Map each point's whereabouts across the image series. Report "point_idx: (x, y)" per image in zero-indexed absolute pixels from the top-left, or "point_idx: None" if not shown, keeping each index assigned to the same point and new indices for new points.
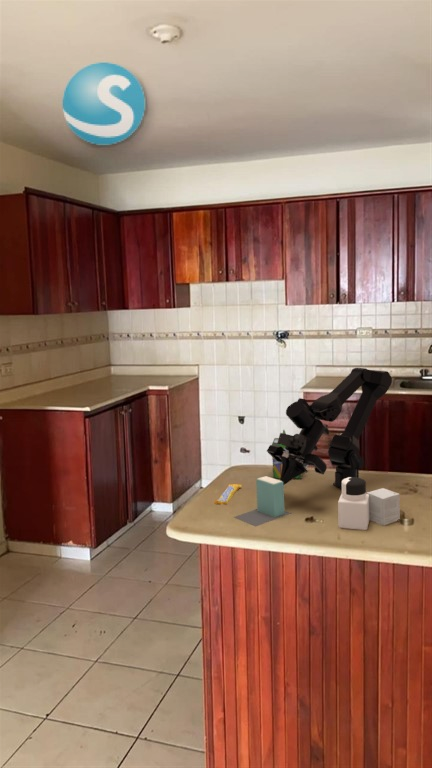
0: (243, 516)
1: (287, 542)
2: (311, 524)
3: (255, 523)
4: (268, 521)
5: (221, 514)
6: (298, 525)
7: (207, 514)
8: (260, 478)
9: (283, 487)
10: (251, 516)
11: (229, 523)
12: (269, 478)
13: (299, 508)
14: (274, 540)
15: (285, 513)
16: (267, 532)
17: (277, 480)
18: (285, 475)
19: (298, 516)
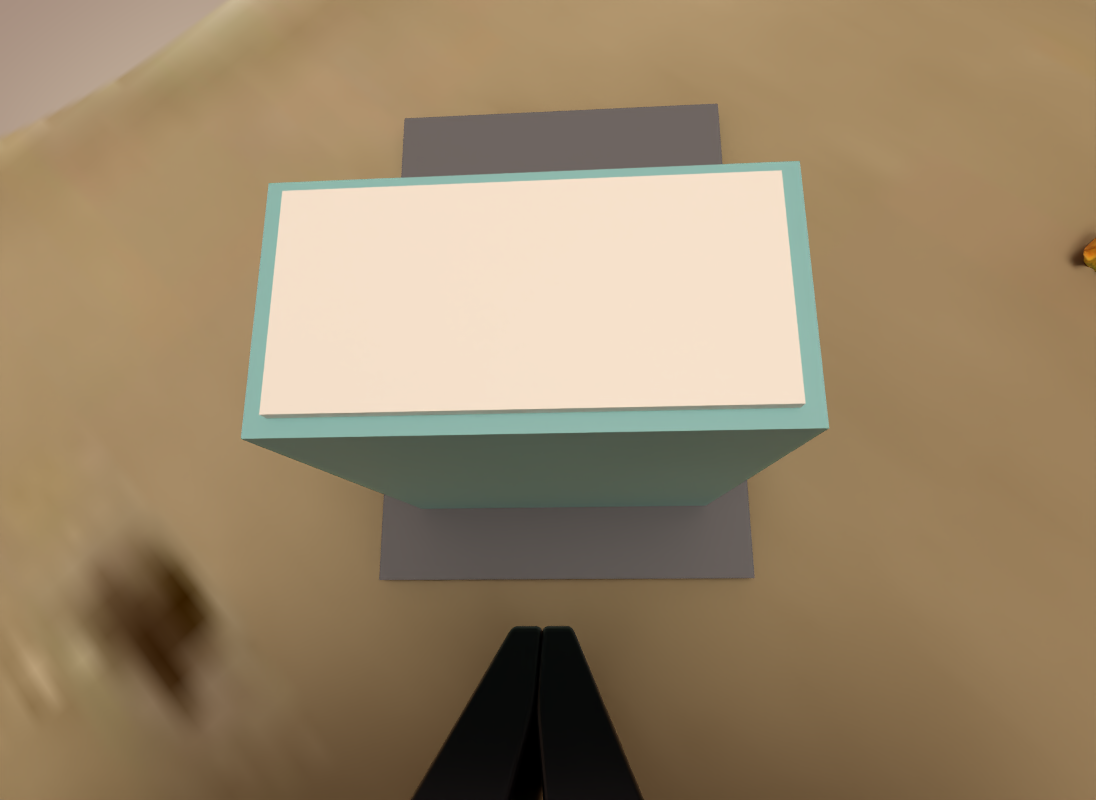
0: None
1: (25, 130)
2: (69, 532)
3: (452, 153)
4: None
5: (880, 95)
6: (154, 425)
7: (965, 10)
8: (739, 211)
9: (295, 457)
10: None
11: (646, 33)
12: (601, 349)
13: None
14: (126, 86)
15: (419, 523)
16: (268, 139)
17: (361, 374)
18: (464, 780)
19: (296, 596)
